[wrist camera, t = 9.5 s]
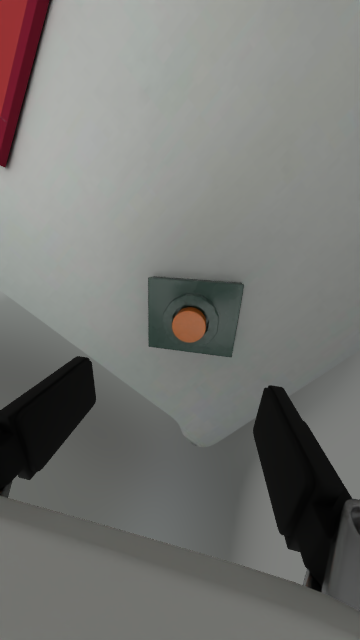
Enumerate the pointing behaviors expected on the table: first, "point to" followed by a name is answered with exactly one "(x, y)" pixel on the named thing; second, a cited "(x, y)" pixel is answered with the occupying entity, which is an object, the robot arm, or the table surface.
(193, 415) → the table surface
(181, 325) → the orange push button
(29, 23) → the red board with handle
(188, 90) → the table surface
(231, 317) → the green button base
